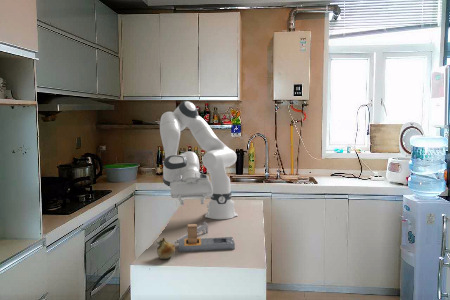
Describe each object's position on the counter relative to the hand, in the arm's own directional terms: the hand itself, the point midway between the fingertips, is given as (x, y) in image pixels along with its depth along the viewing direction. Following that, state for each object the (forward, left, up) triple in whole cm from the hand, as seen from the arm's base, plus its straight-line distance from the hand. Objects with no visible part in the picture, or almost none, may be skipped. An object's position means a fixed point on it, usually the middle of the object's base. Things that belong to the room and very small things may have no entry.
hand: (192, 203), depth 177 cm
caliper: (-3, -1, -17) cm, 17 cm away
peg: (+12, 0, -17) cm, 21 cm away
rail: (+12, +6, -17) cm, 22 cm away
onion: (+23, -11, -17) cm, 31 cm away
